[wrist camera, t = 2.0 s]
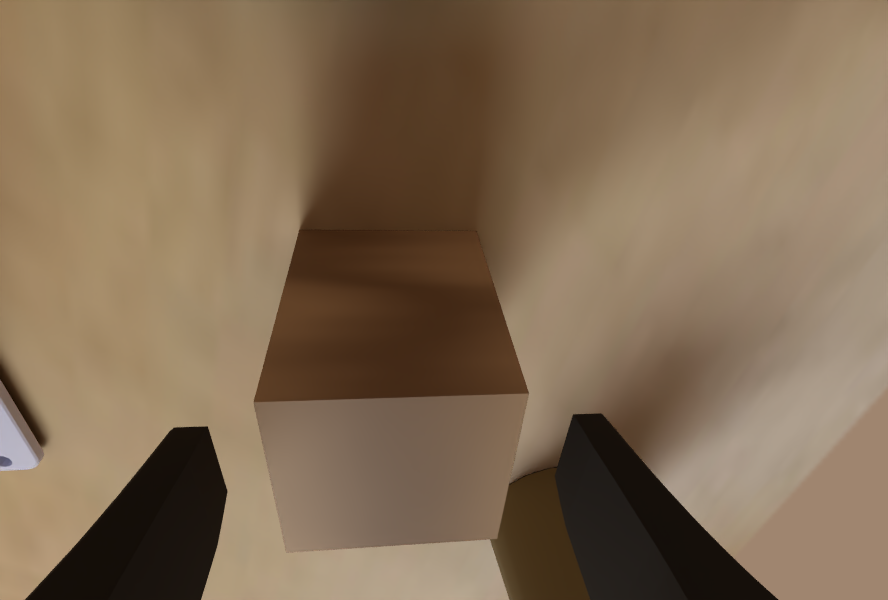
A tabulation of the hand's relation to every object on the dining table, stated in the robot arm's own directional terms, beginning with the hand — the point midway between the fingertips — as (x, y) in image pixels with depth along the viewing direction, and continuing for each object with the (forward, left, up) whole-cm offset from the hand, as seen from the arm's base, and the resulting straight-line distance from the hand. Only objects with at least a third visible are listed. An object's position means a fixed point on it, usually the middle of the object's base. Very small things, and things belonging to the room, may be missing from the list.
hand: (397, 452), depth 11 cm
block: (0, 0, -5) cm, 5 cm away
